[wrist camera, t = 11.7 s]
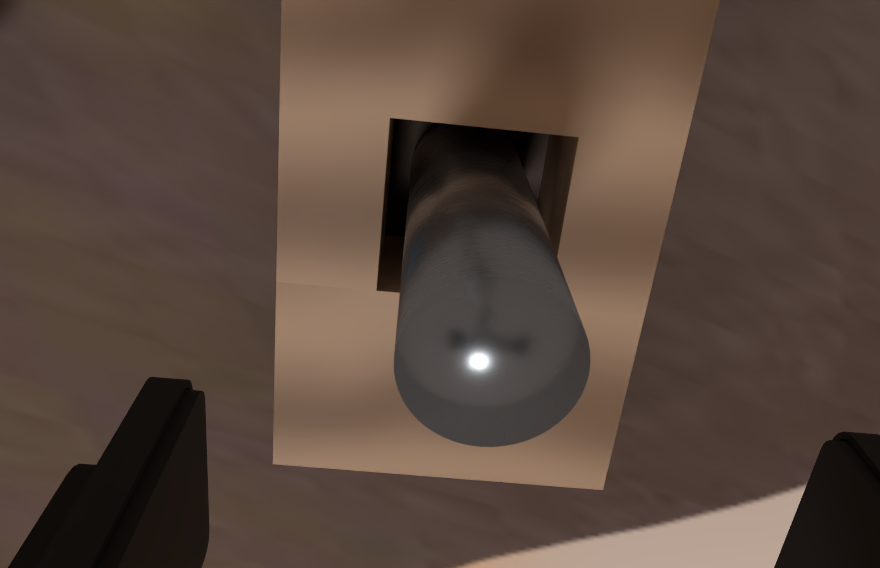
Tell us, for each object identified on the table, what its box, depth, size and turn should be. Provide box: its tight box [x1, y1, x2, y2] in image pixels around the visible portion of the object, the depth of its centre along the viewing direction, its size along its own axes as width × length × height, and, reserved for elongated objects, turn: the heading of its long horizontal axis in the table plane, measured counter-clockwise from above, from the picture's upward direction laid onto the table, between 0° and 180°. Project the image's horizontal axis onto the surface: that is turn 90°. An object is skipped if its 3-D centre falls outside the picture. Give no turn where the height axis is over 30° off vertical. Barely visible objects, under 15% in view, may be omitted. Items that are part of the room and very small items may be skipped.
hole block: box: [273, 0, 720, 490], centre depth 26 cm, size 20×12×5 cm, turn 174°
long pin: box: [394, 123, 591, 447], centre depth 22 cm, size 4×4×14 cm
